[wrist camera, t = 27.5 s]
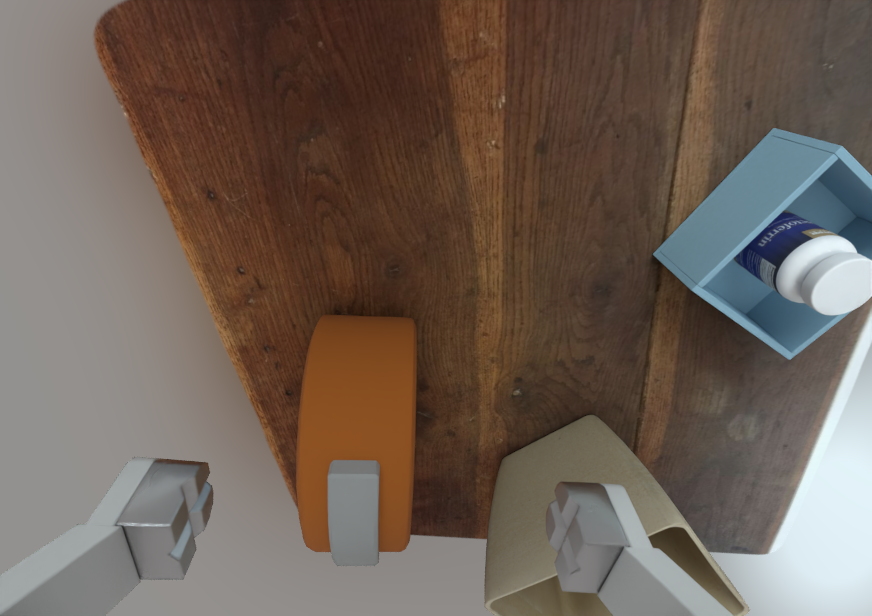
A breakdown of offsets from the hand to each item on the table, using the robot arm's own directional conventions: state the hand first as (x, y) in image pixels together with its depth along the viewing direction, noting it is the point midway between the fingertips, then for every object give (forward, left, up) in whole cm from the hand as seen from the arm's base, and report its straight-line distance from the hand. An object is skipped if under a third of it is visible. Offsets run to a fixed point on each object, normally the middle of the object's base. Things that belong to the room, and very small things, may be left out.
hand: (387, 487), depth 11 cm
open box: (-12, +30, -31) cm, 45 cm away
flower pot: (+20, +36, -31) cm, 52 cm away
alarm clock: (+23, +9, -31) cm, 40 cm away
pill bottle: (-12, +30, -31) cm, 45 cm away
